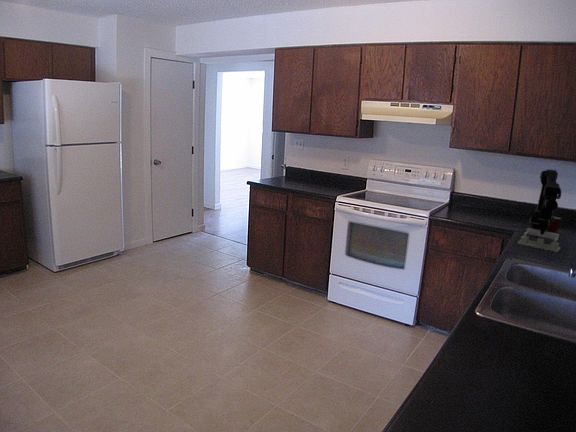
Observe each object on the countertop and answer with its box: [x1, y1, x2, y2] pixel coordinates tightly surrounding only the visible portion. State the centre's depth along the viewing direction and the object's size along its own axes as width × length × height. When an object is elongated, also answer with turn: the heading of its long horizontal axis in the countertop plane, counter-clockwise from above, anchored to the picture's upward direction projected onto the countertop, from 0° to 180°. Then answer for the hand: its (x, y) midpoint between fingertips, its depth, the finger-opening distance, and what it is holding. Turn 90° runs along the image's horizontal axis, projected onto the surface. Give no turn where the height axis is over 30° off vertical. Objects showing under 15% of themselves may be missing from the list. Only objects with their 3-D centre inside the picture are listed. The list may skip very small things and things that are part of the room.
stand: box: [517, 234, 562, 253], centre depth 261 cm, size 11×20×4 cm, turn 52°
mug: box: [546, 216, 563, 233], centre depth 299 cm, size 10×8×10 cm
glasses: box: [523, 227, 560, 242], centre depth 260 cm, size 9×16×3 cm, turn 52°
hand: (542, 234), depth 262 cm, fingers closed on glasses, 2 cm apart
